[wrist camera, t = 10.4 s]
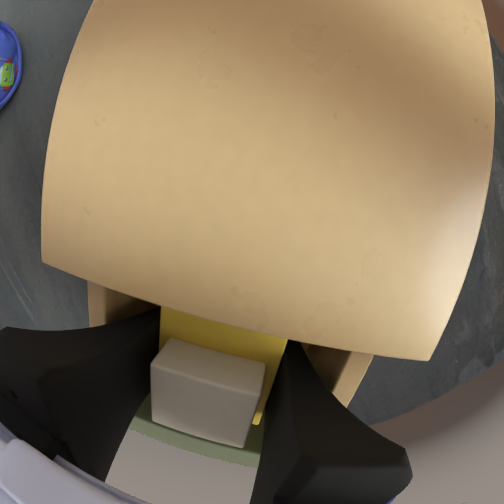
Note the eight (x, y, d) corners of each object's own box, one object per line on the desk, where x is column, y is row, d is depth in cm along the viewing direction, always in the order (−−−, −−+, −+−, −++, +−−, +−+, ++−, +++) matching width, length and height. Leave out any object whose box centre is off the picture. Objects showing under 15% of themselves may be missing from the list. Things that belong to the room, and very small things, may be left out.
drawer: (295, 423, 16) (290, 506, 10) (149, 384, 17) (104, 452, 10) (382, 166, 12) (458, 158, 5) (175, 125, 13) (90, 92, 6)
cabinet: (363, 268, 14) (428, 362, 6) (155, 220, 15) (40, 262, 7) (403, 40, 10) (469, -40, 2) (206, 5, 11) (148, -83, 3)
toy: (266, 373, 12) (252, 457, 8) (185, 351, 13) (141, 423, 8) (291, 290, 11) (288, 366, 6) (195, 267, 12) (136, 323, 7)
